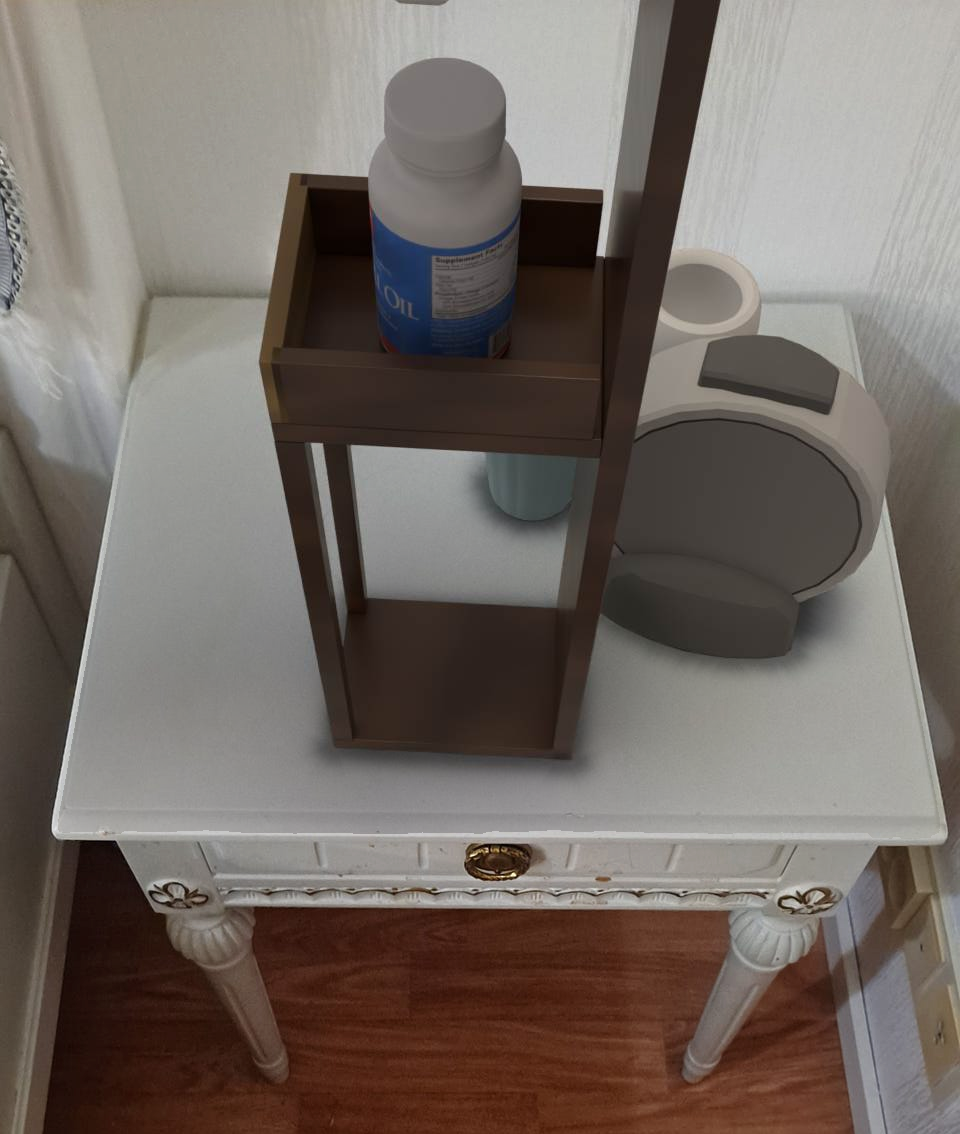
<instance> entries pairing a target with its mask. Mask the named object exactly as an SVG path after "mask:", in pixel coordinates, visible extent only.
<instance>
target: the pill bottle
mask: <svg viewBox="0 0 960 1134" xmlns="http://www.w3.org/2000/svg"><path fill="white" fill-rule="evenodd" d="M384 90H385V91H384V96H383V109H384V110H383V112H384V113H383V114H384V115H383V116H384V117H383V119H384V120H383V133H384V138H383V139H382V140H381V141H380V142H379V144H378V145H377V147H376V149H375V150H374V152H373V155H372V157H371V160H370V164H369V168H368V175H367V177H368V189H369V205H370V218H371V231H372V247H373V262H374V276H375V291H376V305H377V320H378V328H379V334H380V338H381V341H382V343H383V346H384V348H385V349H386V351H387V353H398V354H416V355H435V356H454V357H472V358H491V359H499V358H500V357H501V356H502V355H503V353H504V352H505V350H506V348H507V346H508V344H509V341H510V338H511V334H512V329H513V319H514V305H515V289H516V272H517V257H518V241H519V226H520V212H521V196H522V185H523V175H522V174H523V173H522V168H521V163H520V161H519V158H518V156H517V154H516V152H515V151H514V149H513V147H512V146H511V144H510V143H509V142H508V140H507V139H506V135H507V97H506V93H505V90H504V87H503V84H502V83H501V81H499V79H498V78H497V77H496V76H495V75H494V74H493V73H492V72H491V71H490V70H488V69H487V68H485V67H483V66H481V65H479V64H477V63H475V62H472V61H470V60H465V59H461V58H458V57H457V58H456V57H432V58H426V59H425V58H424V59H421V60H419V61H415V62H413V63H410V64H408V65H406V66H405V67H403V68H401V69H400V70H398V71H397V72H396V73H395V74H394V75H393V77H392V78H391V79H390V80H389V82H388V83H387V85H386V88H385V89H384Z"/></svg>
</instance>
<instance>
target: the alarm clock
mask: <svg viewBox="0 0 960 1134" xmlns="http://www.w3.org/2000/svg"><path fill="white" fill-rule="evenodd" d="M891 461H892V453H891V443H890V429H889V427H888V425H887V423H886V421H885V418H884V417H883V414H882V413H881V410H880V408H879V405H878V404H877V402H876V400H875V398H874V397H873V396H872V395H871V394H870V393H869V392H868V391H867V390H866V388H864V387H863V386H862V384H861V383H860V382H859V381H858V380H857V379H856V378H855V377H854V376H853V375H852V374H851V373H850V372H848V371H847V370H846V369H844V368H842V367H841V366H839V365H837V364H836V363H834V362H832V361H831V360H829V359H827V358H826V357H824V356H823V355H821V354H820V353H818V352H816V351H814V350H812V349H811V348H808V347H807V346H805V345H802V344H801V343H798V342H796V341H792V340H790V339H787V338H784V337H782V336H775V335H765V334H757V335H742V336H739V335H733V336H724V337H715V338H705V339H696V340H693V341H690V342H687V343H684V344H681V345H678V346H676V347H673V348H670V349H667V350H664V351H661V352H659V353H658V354H656V355H655V356H653V357H652V358H650V363H649V368H648V373H647V378H646V383H645V388H644V393H643V398H642V403H641V408H640V413H639V418H638V423H637V428H636V434H635V439H634V444H633V449H632V454H631V459H630V464H629V469H628V474H627V479H626V484H625V489H624V494H623V500H622V505H621V510H620V515H619V520H618V525H617V530H616V535H615V540H614V545H613V550H612V555H611V560H610V566H609V571H608V576H607V581H606V586H605V591H604V596H603V601H602V606H601V611H600V614H602V615H604V616H605V617H607V618H608V619H610V620H611V621H613V622H614V623H616V625H619V626H621V627H623V628H625V629H627V630H630V631H631V632H634V633H635V634H638V635H640V636H642V637H644V638H647V639H648V640H651V641H654V642H656V643H660V644H663V645H666V646H669V647H672V648H676V649H679V650H681V651H685V652H690V653H695V654H696V653H697V654H701V655H708V656H714V657H720V658H740V659H742V658H743V659H764V658H772V657H774V658H775V657H783V656H785V655H786V654H788V653H789V652H790V651H791V650H792V645H793V639H794V636H795V630H796V625H797V620H798V616H799V611H800V606H801V602H804V601H806V600H809V599H810V598H813V597H815V596H818V595H821V594H823V593H825V592H829V591H830V590H832V589H833V588H834V587H836V586H837V585H839V584H840V583H842V582H843V581H844V580H846V579H847V578H849V577H850V576H851V575H853V574H854V573H856V571H857V570H858V569H859V567H860V566H861V565H862V563H863V562H864V561H865V559H866V558H867V557H868V556H869V554H870V553H871V551H872V550H873V547H874V543H875V540H876V537H877V533H878V530H879V527H880V523H881V518H882V512H883V506H884V500H885V495H886V490H887V484H888V478H889V471H890V468H891Z"/></svg>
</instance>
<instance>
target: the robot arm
mask: <svg viewBox="0 0 960 1134" xmlns="http://www.w3.org/2000/svg"><path fill="white" fill-rule="evenodd" d="M395 1H396V2H397V3H398V4H403V5H420V6H434V7H435V6H437V7H438V6H442V5H445V4H447V3H448V2H449V0H395Z"/></svg>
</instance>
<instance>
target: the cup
mask: <svg viewBox="0 0 960 1134" xmlns="http://www.w3.org/2000/svg"><path fill="white" fill-rule="evenodd" d="M484 453H485V461H486V469H487V470H486V472H487V479H488V480H487V481H488V486H489V487H488V488H489V491H490V494H491V497H492V499H493V501H494V503H495V504H496V506H497V507H498V508H499V509H501V511H503V512H504V513H506V514H507V515H508V516H511V517H513V518H516V519H519V520H523V521H543V520H547V519H550V518H553V517H554V516H556V515H559V514H560V513H561V512H562V511H563V510H565V508H566V507H567V506H568V505H569V503H571V498H572V491H573V484H574V476H575V469H576V462H577V457H565V456H547V455H528V454H509V453H491V452H484Z"/></svg>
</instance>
